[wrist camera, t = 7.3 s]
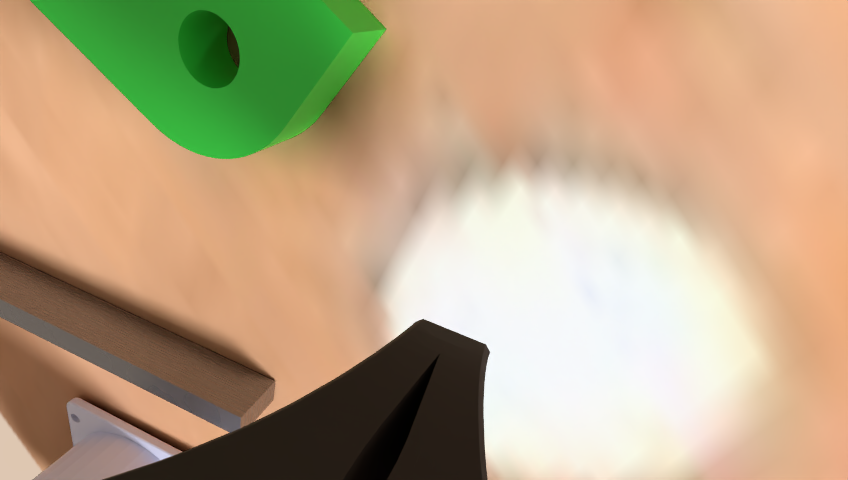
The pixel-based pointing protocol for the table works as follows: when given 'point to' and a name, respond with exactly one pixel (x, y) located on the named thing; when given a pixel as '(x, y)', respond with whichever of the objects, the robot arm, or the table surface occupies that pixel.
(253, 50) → the mechanical part
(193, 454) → the robot arm
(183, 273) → the table surface
